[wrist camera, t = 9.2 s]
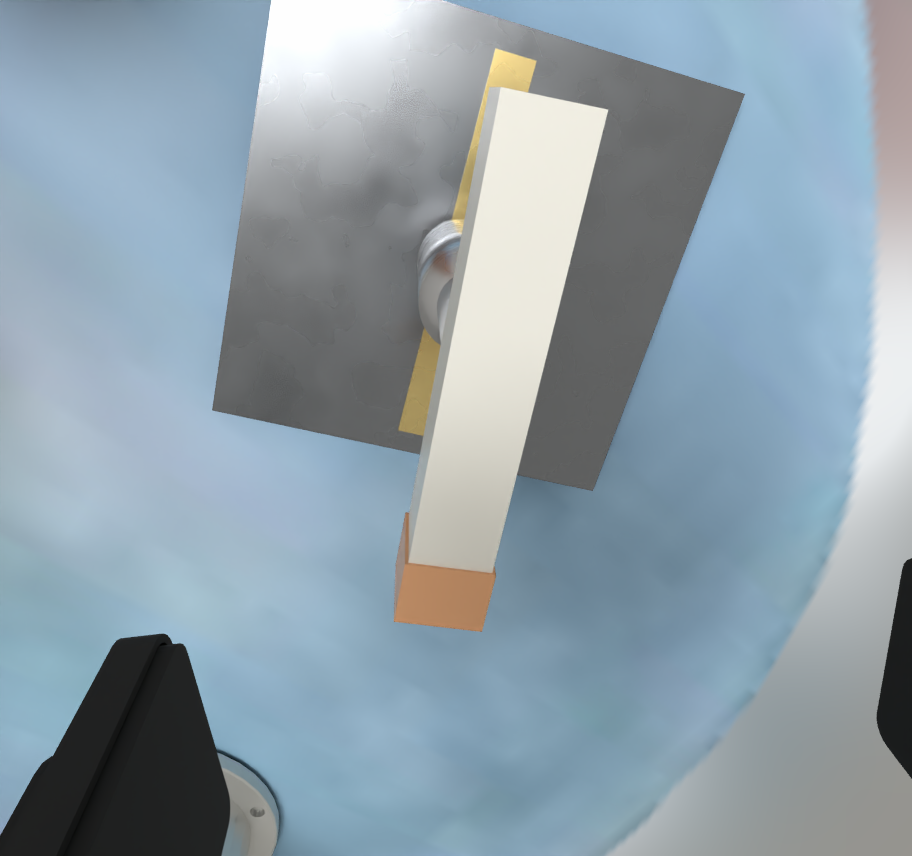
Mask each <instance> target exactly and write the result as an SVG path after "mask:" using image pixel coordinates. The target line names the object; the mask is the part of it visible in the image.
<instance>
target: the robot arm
mask: <svg viewBox="0 0 912 856" xmlns="http://www.w3.org/2000/svg"><path fill="white" fill-rule="evenodd" d="M877 724H878V728H879V731H880V734H881V736H882V739H883V741H884V742H885V744H886V745H887V747H888V748H889V749H890V751H891V752H892V753H893V754H894V756H895V757H896V759H897V760H898V761H899V763H900V764H901V765H902V767H903V768H904V769H905V770H906V772H907V773H908V774H909V776H910V777H911V778H912V558H911V559H909V560H907V561H906V562H905V563H904V566H903V569H902V574H901V579H900V585H899V591H898V597H897V602H896V608H895V614H894V619H893V625H892V630H891V636H890V642H889V648H888V653H887V659H886V665H885V670H884V676H883V681H882V687H881V693H880V699H879V705H878V710H877ZM278 831H279V812H278V809H277V806H276V802H275V799H274V798H273V796H272V794H271V793H270V791H269V790H268V788H267V786H266V785H265V784H264V783H263V782H262V781H261V780H260V779H259V778H258V777H257V776H256V775H255V774H254V773H253V772H251V771H250V770H248V769H247V768H246V767H244V766H243V765H241V764H240V763H239V762H237V761H235V760H233V759H230V758H228V757H226V756H224V755H222V754H220V753H217V751H216V747H215V744H214V741H213V737H212V734H211V730H210V727H209V724H208V720H207V717H206V713H205V710H204V707H203V703H202V700H201V697H200V693H199V690H198V686H197V683H196V680H195V676H194V673H193V669H192V666H191V663H190V659H189V656H188V653H187V650H186V648H185V646H184V645H183V644H180V643H179V644H172V641H171V639H170V638H169V637H168V635H166V634H156V635H147V636H138V637H130V638H121V639H119V640H117V641H116V642H115V643H114V645H113V646H112V648H111V649H110V651H109V653H108V655H107V657H106V659H105V661H104V662H103V664H102V666H101V668H100V670H99V672H98V674H97V675H96V677H95V679H94V681H93V683H92V685H91V687H90V688H89V690H88V692H87V694H86V696H85V698H84V700H83V701H82V703H81V705H80V707H79V709H78V711H77V713H76V714H75V716H74V718H73V720H72V722H71V724H70V725H69V727H68V729H67V731H66V733H65V735H64V737H63V738H62V740H61V742H60V744H59V746H58V748H57V750H56V751H55V753H54V755H53V756H51V757H50V758H49V759H47V760H46V761H44V762H43V763H42V764H41V766H40V767H39V768H38V770H37V771H36V773H35V774H34V776H33V777H32V779H31V781H30V783H29V785H28V786H27V788H26V790H25V792H24V794H23V796H22V797H21V799H20V801H19V803H18V805H17V806H16V808H15V810H14V812H13V814H12V815H11V817H10V819H9V821H8V823H7V824H6V826H5V828H4V830H3V832H2V833H1V835H0V856H272V854H273V852H274V849H275V847H276V843H277V837H278Z"/></svg>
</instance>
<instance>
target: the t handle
mask: <svg viewBox="0 0 912 856" xmlns="http://www.w3.org/2000/svg"><path fill="white" fill-rule="evenodd" d="M607 113H608V109H603V108H598V107H593V106H589V105H584V104H579V103H574V102H570V101H565V100H560V99H556V98H551V97H546V96H541V95H537V94H532V93H527V92H522V91H518V90H513V89H508V88H503V87H489V92H488V97H487V103H486V108H485V113H484V119H483V124H482V129H481V134H480V140H479V145H478V150H477V156H476V161H475V166H474V171H473V177H472V182H471V187H470V193H469V198H468V203H467V209H466V214H465V219H464V224H463V230H462V235H461V240H460V246H459V251H458V256H457V261H456V267H455V272H454V277H453V278H452V279H450V280H449V281H448V282H447V283H446V284H445V285H444V287H443V288H442V290H441V292H440V294H439V297H438V301H437V315H438V323H439V332H440V340H441V346H440V351H439V357H438V362H437V367H436V373H435V378H434V383H433V388H432V394H431V399H430V404H429V410H428V415H427V420H426V425H425V431H424V436H423V441H422V447H421V452H420V457H419V463H418V468H417V473H416V478H415V484H414V489H413V494H412V500H411V505H410V510H409V513H407V512H406V513H405V518H404V523H403V529H402V534H401V539H400V545H399V550H398V555H397V561H396V570H395V601H394V622H402V623H411V624H419V625H428V626H436V627H445V628H454V629H462V630H471V631H480V632H482V629H483V625H484V621H485V617H486V613H487V609H488V605H489V601H490V597H491V594H492V590H493V586H494V582H495V578H496V573H495V567H494V564H495V560H496V556H497V552H498V548H499V544H500V540H501V536H502V532H503V528H504V524H505V520H506V516H507V512H508V508H509V504H510V500H511V496H512V492H513V488H514V484H515V480H516V476H517V472H518V468H519V464H520V460H521V456H522V452H523V448H524V444H525V440H526V436H527V432H528V428H529V424H530V420H531V416H532V412H533V408H534V404H535V400H536V396H537V392H538V388H539V384H540V380H541V376H542V372H543V368H544V364H545V360H546V356H547V352H548V348H549V344H550V340H551V336H552V332H553V328H554V325H555V321H556V317H557V313H558V309H559V305H560V301H561V297H562V293H563V289H564V285H565V281H566V277H567V273H568V269H569V265H570V261H571V257H572V253H573V249H574V245H575V241H576V237H577V233H578V229H579V225H580V221H581V217H582V213H583V209H584V205H585V201H586V197H587V193H588V189H589V185H590V181H591V177H592V173H593V169H594V165H595V161H596V157H597V153H598V149H599V145H600V141H601V137H602V133H603V129H604V125H605V121H606V117H607Z"/></svg>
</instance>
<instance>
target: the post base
mask: <svg viewBox="0 0 912 856" xmlns="http://www.w3.org/2000/svg"><path fill="white" fill-rule="evenodd" d="M489 87H503V88H508V89H513V90H518V91H522V92H527V93H532V94H537V95H541V96H546V97H551V98H556V99H560V100H565V101H570V102H574V103H579V104H584V105H589V106H593V107H598V108H603V109H608V113H607V117H606V121H605V125H604V129H603V133H602V137H601V141H600V145H599V149H598V153H597V157H596V161H595V165H594V169H593V173H592V177H591V181H590V185H589V189H588V193H587V197H586V201H585V205H584V209H583V213H582V217H581V221H580V225H579V229H578V233H577V237H576V241H575V245H574V249H573V253H572V257H571V261H570V265H569V269H568V273H567V277H566V281H565V285H564V289H563V293H562V297H561V301H560V305H559V309H558V313H557V317H556V321H555V325H554V328H553V332H552V336H551V340H550V344H549V348H548V352H547V356H546V360H545V364H544V368H543V372H542V376H541V380H540V384H539V388H538V392H537V396H536V400H535V404H534V408H533V412H532V416H531V420H530V424H529V428H528V432H527V436H526V440H525V444H524V448H523V452H522V456H521V460H520V464H519V468H518V472H517V475H520V476H525V477H530V478H534V479H539V480H544V481H549V482H553V483H558V484H563V485H567V486H572V487H577V488H582V489H586V490H591V491H593V489H594V486H595V483H596V481H597V478H598V476H599V473H600V470H601V468H602V465H603V463H604V460H605V457H606V455H607V452H608V450H609V447H610V444H611V442H612V439H613V436H614V434H615V431H616V429H617V426H618V423H619V421H620V418H621V416H622V413H623V410H624V408H625V405H626V403H627V400H628V397H629V395H630V392H631V390H632V387H633V384H634V382H635V379H636V377H637V374H638V371H639V369H640V366H641V363H642V361H643V358H644V356H645V353H646V350H647V348H648V345H649V343H650V340H651V337H652V335H653V332H654V330H655V327H656V324H657V322H658V319H659V317H660V314H661V311H662V309H663V306H664V304H665V301H666V298H667V296H668V293H669V291H670V288H671V285H672V283H673V280H674V277H675V275H676V272H677V270H678V267H679V264H680V262H681V259H682V257H683V254H684V251H685V249H686V246H687V244H688V241H689V238H690V236H691V233H692V231H693V228H694V225H695V223H696V220H697V218H698V215H699V212H700V210H701V207H702V204H703V202H704V199H705V197H706V194H707V191H708V189H709V186H710V184H711V181H712V178H713V176H714V173H715V171H716V168H717V165H718V163H719V160H720V158H721V155H722V152H723V150H724V147H725V145H726V142H727V139H728V137H729V134H730V132H731V129H732V126H733V124H734V121H735V118H736V116H737V113H738V111H739V108H740V105H741V103H742V100H743V98H744V95H745V94H743V93H740V92H736V91H733V90H730V89H727V88H723V87H720V86H717V85H714V84H711V83H707V82H704V81H701V80H698V79H694V78H691V77H688V76H685V75H682V74H678V73H675V72H672V71H669V70H665V69H662V68H659V67H656V66H653V65H649V64H646V63H643V62H640V61H636V60H633V59H630V58H627V57H623V56H620V55H617V54H614V53H611V52H607V51H604V50H601V49H598V48H594V47H591V46H588V45H585V44H582V43H578V42H575V41H572V40H569V39H565V38H562V37H559V36H556V35H553V34H549V33H546V32H543V31H540V30H536V29H533V28H530V27H527V26H524V25H520V24H517V23H514V22H511V21H507V20H504V19H501V18H498V17H495V16H491V15H488V14H485V13H482V12H478V11H475V10H472V9H469V8H466V7H462V6H459V5H456V4H453V3H449V2H446V1H443V0H271V7H270V14H269V21H268V28H267V35H266V42H265V49H264V56H263V63H262V70H261V77H260V83H259V90H258V97H257V104H256V111H255V118H254V125H253V132H252V139H251V146H250V153H249V160H248V166H247V173H246V180H245V187H244V194H243V201H242V208H241V215H240V222H239V229H238V236H237V243H236V249H235V256H234V263H233V270H232V277H231V284H230V291H229V298H228V305H227V312H226V319H225V326H224V332H223V339H222V346H221V353H220V360H219V367H218V374H217V381H216V388H215V395H214V402H213V409H212V410H213V411H218V412H223V413H228V414H232V415H237V416H242V417H246V418H251V419H256V420H261V421H265V422H270V423H275V424H279V425H284V426H289V427H294V428H298V429H303V430H308V431H313V432H317V433H322V434H327V435H331V436H336V437H341V438H346V439H350V440H355V441H360V442H364V443H369V444H374V445H379V446H383V447H388V448H393V449H397V450H402V451H407V452H412V453H416V454H420V452H421V447H422V441H423V436H424V431H425V425H426V420H427V415H428V410H429V404H430V399H431V394H432V388H433V383H434V378H435V373H436V367H437V362H438V357H439V351H440V346H441V340H440V332H439V323H438V315H437V301H438V297H439V294H440V292H441V290H442V288H443V287H444V285H445V284H446V283H447V282H448V281H449V280H450V279H452V278H453V277H454V272H455V267H456V261H457V256H458V251H459V246H460V240H461V235H462V230H463V224H464V219H465V214H466V209H467V203H468V198H469V193H470V187H471V182H472V177H473V171H474V166H475V161H476V156H477V150H478V145H479V140H480V134H481V129H482V124H483V119H484V113H485V108H486V103H487V97H488V92H489Z"/></svg>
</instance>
